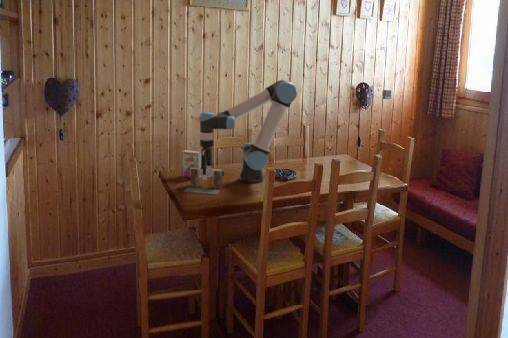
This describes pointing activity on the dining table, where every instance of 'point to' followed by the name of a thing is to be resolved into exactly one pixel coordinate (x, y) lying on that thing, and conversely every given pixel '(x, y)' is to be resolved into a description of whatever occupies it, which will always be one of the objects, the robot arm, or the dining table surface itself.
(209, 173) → the rail
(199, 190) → the mat
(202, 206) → the dining table surface
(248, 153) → the robot arm
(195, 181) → the post
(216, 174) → the post
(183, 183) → the dining table surface
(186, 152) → the candy bar box
